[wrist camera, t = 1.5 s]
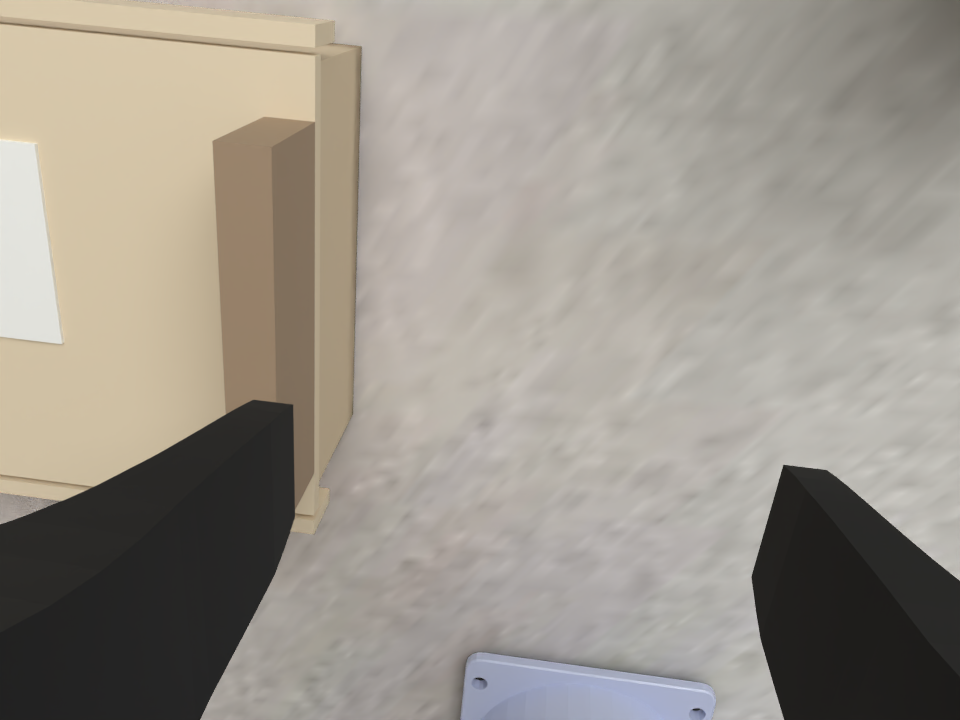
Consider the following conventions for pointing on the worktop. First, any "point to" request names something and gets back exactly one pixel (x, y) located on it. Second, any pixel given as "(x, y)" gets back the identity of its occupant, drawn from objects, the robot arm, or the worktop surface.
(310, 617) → the worktop surface
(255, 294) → the lid
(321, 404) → the mailer box
